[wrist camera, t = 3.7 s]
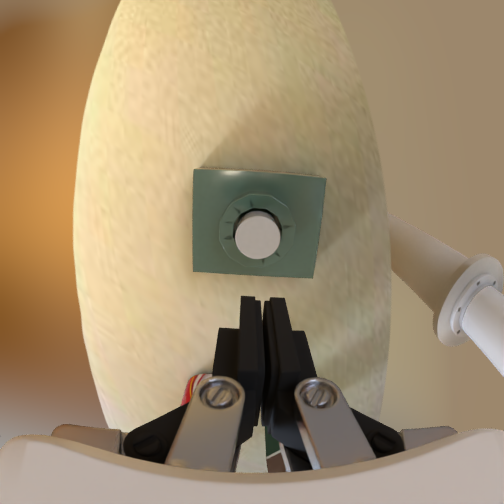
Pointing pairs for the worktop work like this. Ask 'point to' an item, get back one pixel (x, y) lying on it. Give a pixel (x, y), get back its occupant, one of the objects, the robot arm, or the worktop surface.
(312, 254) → the base
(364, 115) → the worktop surface
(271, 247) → the grey round knob
